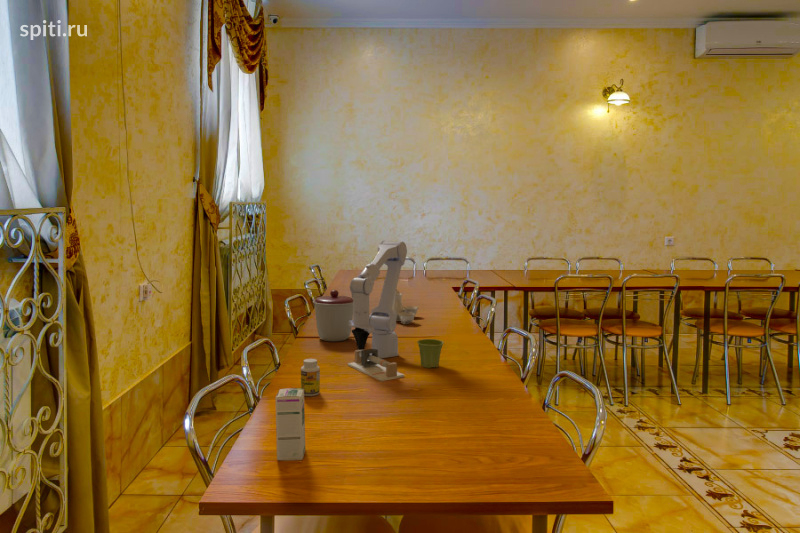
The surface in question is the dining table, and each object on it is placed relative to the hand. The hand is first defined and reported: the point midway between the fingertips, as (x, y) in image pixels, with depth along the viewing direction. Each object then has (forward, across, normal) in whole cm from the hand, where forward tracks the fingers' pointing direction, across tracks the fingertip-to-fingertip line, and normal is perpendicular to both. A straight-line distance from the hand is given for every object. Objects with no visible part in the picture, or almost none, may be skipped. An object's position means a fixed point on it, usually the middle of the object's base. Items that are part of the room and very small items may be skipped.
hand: (361, 349), depth 199 cm
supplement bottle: (+6, +19, -29) cm, 35 cm away
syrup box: (+6, +55, -51) cm, 75 cm away
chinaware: (+6, -60, +59) cm, 84 cm away
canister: (+6, -41, +11) cm, 43 cm away
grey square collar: (+4, +6, 0) cm, 7 cm away
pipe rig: (+6, +9, 0) cm, 11 cm away
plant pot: (+6, +14, +20) cm, 25 cm away
